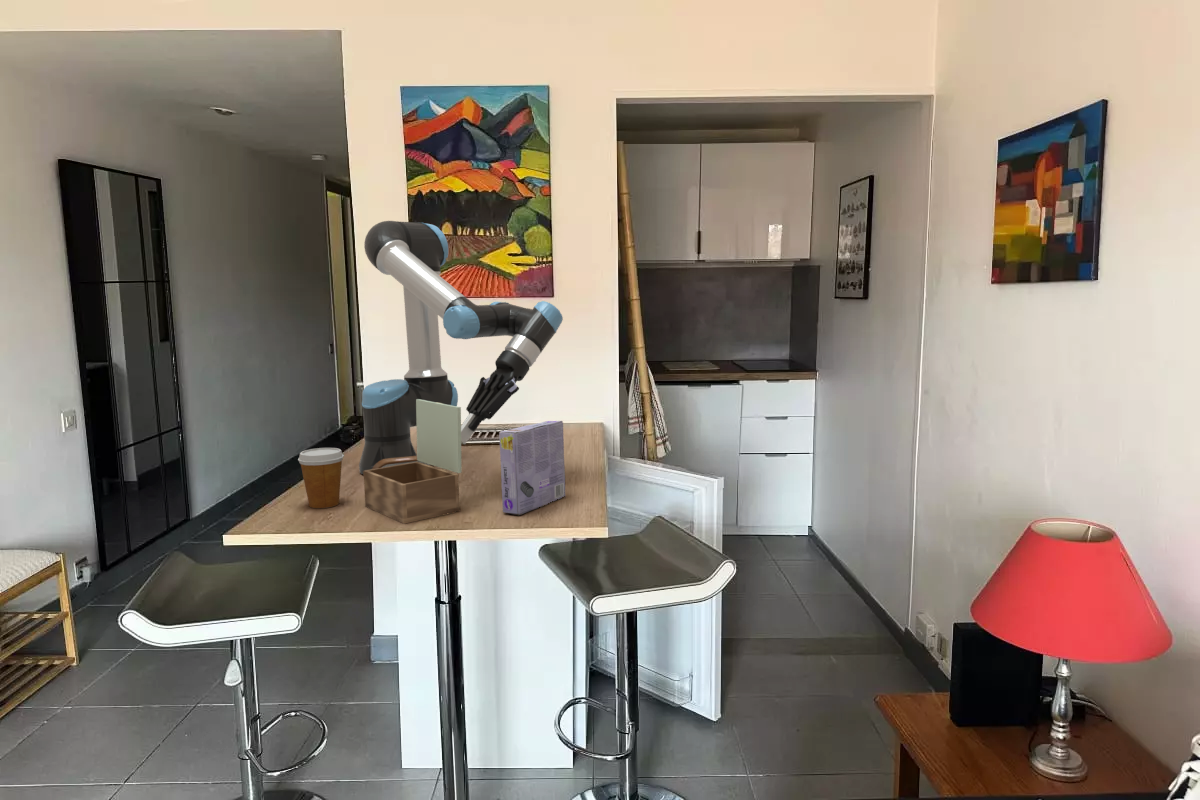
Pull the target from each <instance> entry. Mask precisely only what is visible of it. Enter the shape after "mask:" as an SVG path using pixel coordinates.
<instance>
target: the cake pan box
mask: <svg viewBox="0 0 1200 800" xmlns="http://www.w3.org/2000/svg"><path fill="white" fill-rule="evenodd" d="M563 421H564V420H546V421H541V422H537V423H533V424H527V425H522V426H519V427H516V428H515V427H514V428H510V429H505V430H501V431H499V433H498V434H499V435H498V437H499V455H500V456H499V457H500V477H501V501H502V512H503V513H506V514H510V515H515V516H522V515H523V514H525V513H528V512H530V511H531V512H532V511H533V510H536V509H540V508H543V507H544V505H545V506H547V505H549V504H551V503H553V502H555V501H558V500H560V499H563V498H562V497H564V496H565V497H566V472H565V470H566V469H565V444H564V442H565V441H564V422H563ZM565 497H564V498H565ZM557 499H558V500H557ZM552 501H553V502H552ZM550 502H551V503H550ZM548 503H549V504H548ZM539 507H540V508H539Z"/></svg>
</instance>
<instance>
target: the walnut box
mask: <svg viewBox="0 0 1200 800" xmlns="http://www.w3.org/2000/svg"><path fill="white" fill-rule="evenodd" d="M363 474H364V475H363V488H364V489H363V490H364V505H365V507H366V508H368V509H370V510H373V511H375V512H377V513H379V514H381V515H384V516H386V517H388V518H390V519H392V520H394V521H396V522H399V523H400V524H401V523H402V524H404V525H405V524H409V523H414V522H418V521H422V520H426V519H428V520H429V519H431V518H436V516H437V517H440V516H439V515H441V516H444V515H443V514H446V515H448V514H447V513H450V514H452V513H451V512H455V511H459V510H460V509H461V506H460V504H461V503H460V486H459V483H460V482H459V473H456V472H453V471H449V470H446V469H443V468H440V467H437V466H434V467H433V466H429V465H426V464H423V463H420V462H412V463H406V464H400V465H395V466H389V467H383V468H377V469H371V470H365V471H363ZM460 511H461V510H460ZM460 511H459V512H460ZM455 513H456V512H455Z"/></svg>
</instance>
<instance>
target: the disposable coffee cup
mask: <svg viewBox="0 0 1200 800" xmlns="http://www.w3.org/2000/svg"><path fill="white" fill-rule="evenodd" d="M344 456H345V455H344V454H343V452H342V450H341V449H340V448H337V447H319V448H318V447H317V448H310V449H306V450H303V451H301V452H299V457H298V459H297V461H298V462H299V464H300V468H301V471H302V478H303V482H304V487H305V491H306V493H305V494H306V497H307V498H306V499H307V502H308V507H310V508H311V509H312V508H313V509H327V508H332V507H336V506H338V505H339V504H340V494H341V493H340V491H341V478H342V477H341V476H342V462H343V458H344Z"/></svg>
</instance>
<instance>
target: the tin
mask: <svg viewBox="0 0 1200 800" xmlns="http://www.w3.org/2000/svg"><path fill="white" fill-rule="evenodd" d="M412 462H420V463H423V464H426V465H429V466H433V467H435V466H434V465H430V464H427V463H424V462H421V461H418V460H417V456H409V457H399V458H388V459H383V460H381V461H379V462H378V463H376V464H375V465H374V467H373V468H372V469H377V468H383V467H389V466H395V465H400V464H406V463H412Z"/></svg>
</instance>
